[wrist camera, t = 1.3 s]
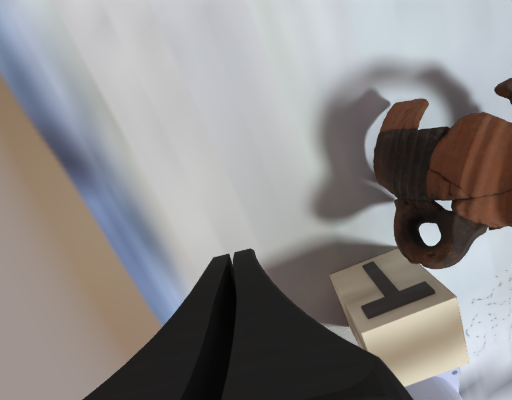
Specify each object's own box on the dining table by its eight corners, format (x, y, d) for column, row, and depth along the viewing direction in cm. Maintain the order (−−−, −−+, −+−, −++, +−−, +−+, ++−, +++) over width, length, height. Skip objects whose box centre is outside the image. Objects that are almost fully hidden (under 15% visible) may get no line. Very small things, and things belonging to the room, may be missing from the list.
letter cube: (414, 301, 24) (469, 363, 18) (349, 326, 24) (384, 394, 19) (398, 243, 22) (456, 293, 16) (327, 271, 22) (360, 330, 17)
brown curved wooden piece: (403, 49, 17) (614, 20, 11) (449, 115, 23) (602, 123, 16) (327, 229, 18) (479, 302, 11) (391, 248, 24) (514, 303, 17)
